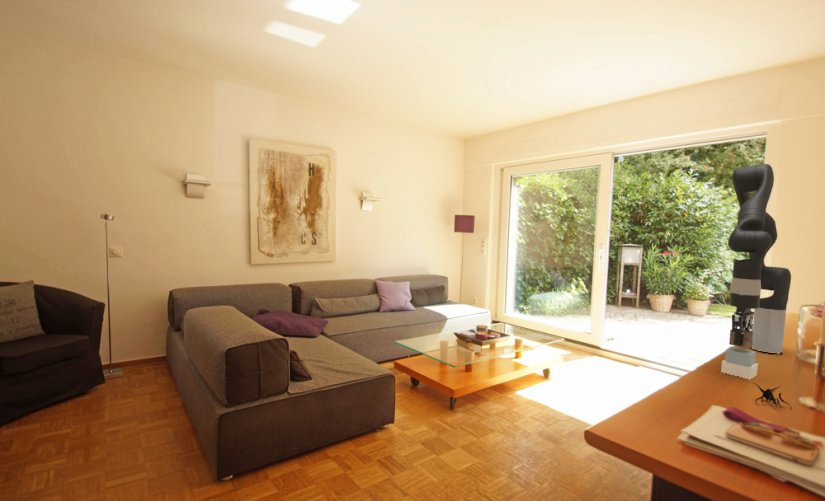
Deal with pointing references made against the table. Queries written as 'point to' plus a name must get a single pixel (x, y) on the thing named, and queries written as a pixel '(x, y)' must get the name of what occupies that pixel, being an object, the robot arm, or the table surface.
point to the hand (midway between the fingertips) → (740, 343)
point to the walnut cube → (746, 339)
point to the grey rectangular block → (740, 356)
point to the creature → (770, 396)
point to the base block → (739, 370)
